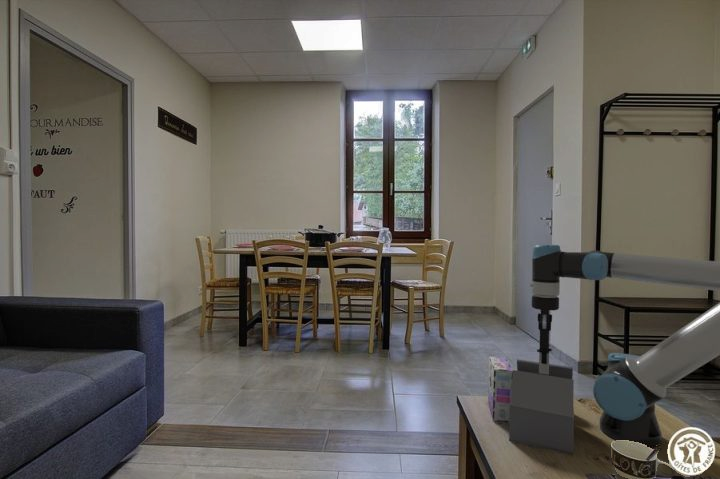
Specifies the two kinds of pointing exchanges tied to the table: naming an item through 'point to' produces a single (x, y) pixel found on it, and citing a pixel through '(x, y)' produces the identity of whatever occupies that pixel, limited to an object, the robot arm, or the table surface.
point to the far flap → (553, 369)
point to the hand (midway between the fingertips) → (543, 373)
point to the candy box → (499, 388)
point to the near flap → (542, 393)
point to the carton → (541, 429)
